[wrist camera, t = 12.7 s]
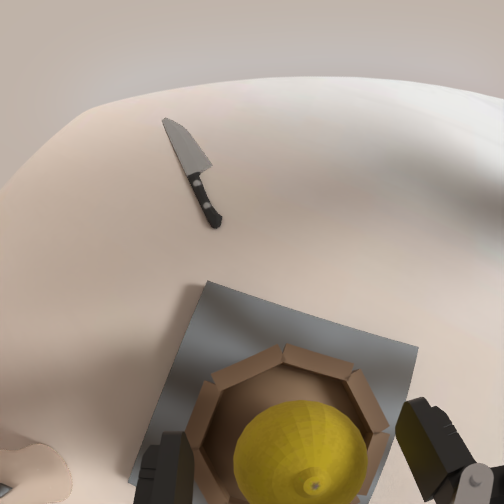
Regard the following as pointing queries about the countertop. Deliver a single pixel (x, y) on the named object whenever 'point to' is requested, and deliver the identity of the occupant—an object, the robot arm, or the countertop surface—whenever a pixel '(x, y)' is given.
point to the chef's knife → (192, 166)
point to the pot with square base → (273, 383)
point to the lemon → (300, 456)
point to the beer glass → (33, 476)
